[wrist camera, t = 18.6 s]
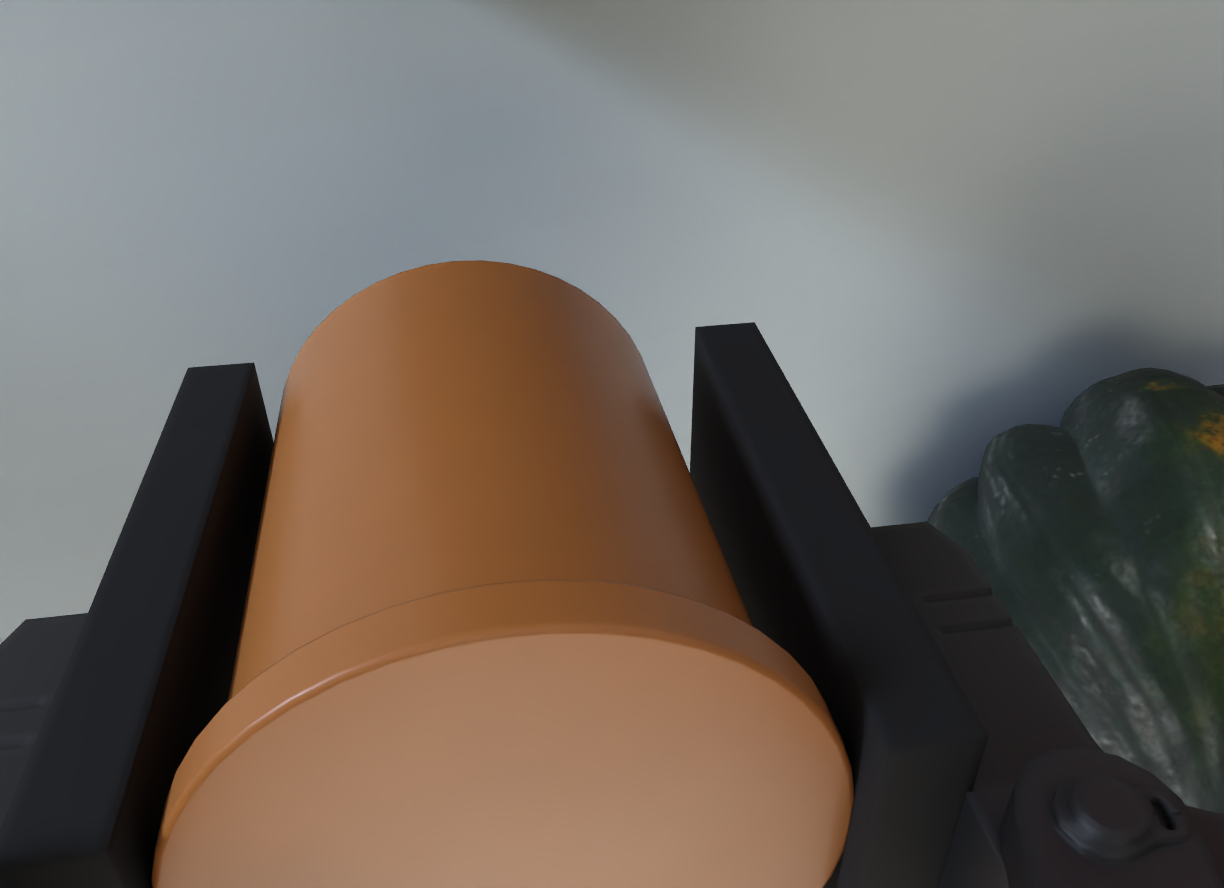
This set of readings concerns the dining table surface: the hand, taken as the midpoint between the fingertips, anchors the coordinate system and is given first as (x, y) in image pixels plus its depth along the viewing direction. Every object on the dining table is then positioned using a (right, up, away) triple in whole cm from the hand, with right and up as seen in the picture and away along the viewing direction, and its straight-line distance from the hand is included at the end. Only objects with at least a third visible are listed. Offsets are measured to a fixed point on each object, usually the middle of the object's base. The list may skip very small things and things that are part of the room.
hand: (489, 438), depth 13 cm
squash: (+17, -2, +23) cm, 29 cm away
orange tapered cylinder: (0, 0, 0) cm, 0 cm away
